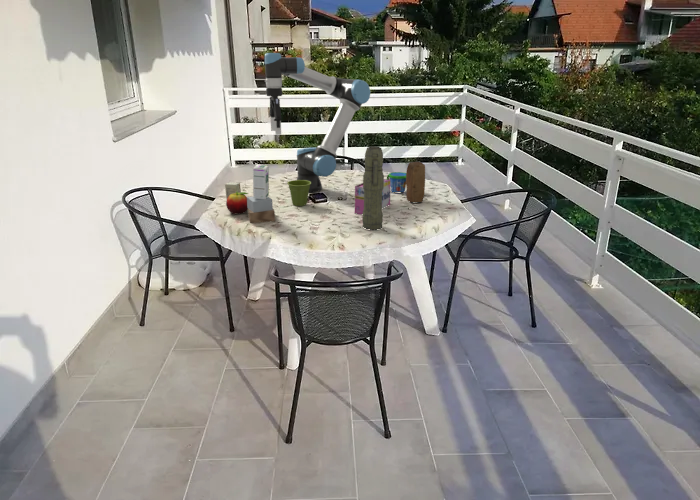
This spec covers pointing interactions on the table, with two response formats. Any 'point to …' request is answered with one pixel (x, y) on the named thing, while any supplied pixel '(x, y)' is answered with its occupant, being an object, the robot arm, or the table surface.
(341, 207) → the table surface
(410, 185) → the block
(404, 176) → the snack cup
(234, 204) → the fruit
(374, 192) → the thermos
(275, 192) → the table surface
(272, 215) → the base block
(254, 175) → the syrup box
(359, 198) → the gum box
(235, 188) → the skincare box
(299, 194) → the plant pot
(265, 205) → the top block
